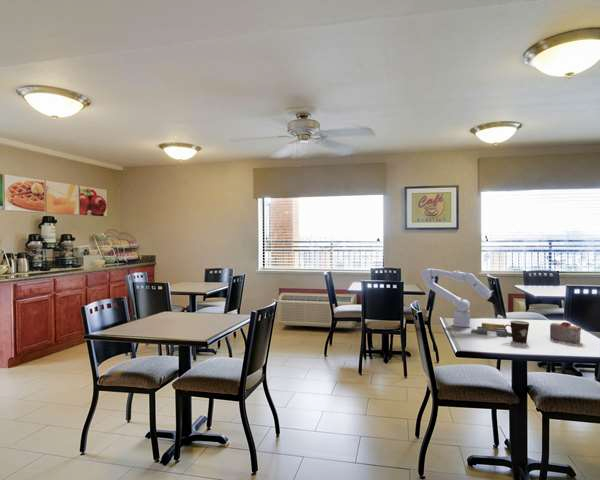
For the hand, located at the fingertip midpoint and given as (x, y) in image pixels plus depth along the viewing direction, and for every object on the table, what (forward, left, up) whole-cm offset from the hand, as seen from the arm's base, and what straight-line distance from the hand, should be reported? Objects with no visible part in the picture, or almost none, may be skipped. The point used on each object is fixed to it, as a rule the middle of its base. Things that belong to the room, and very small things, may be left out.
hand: (500, 306), depth 235 cm
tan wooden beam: (-4, -2, -14) cm, 15 cm away
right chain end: (+2, -13, -14) cm, 19 cm away
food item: (+30, -13, -14) cm, 36 cm away
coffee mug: (+6, -25, -14) cm, 29 cm away
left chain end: (-11, -13, -14) cm, 22 cm away
